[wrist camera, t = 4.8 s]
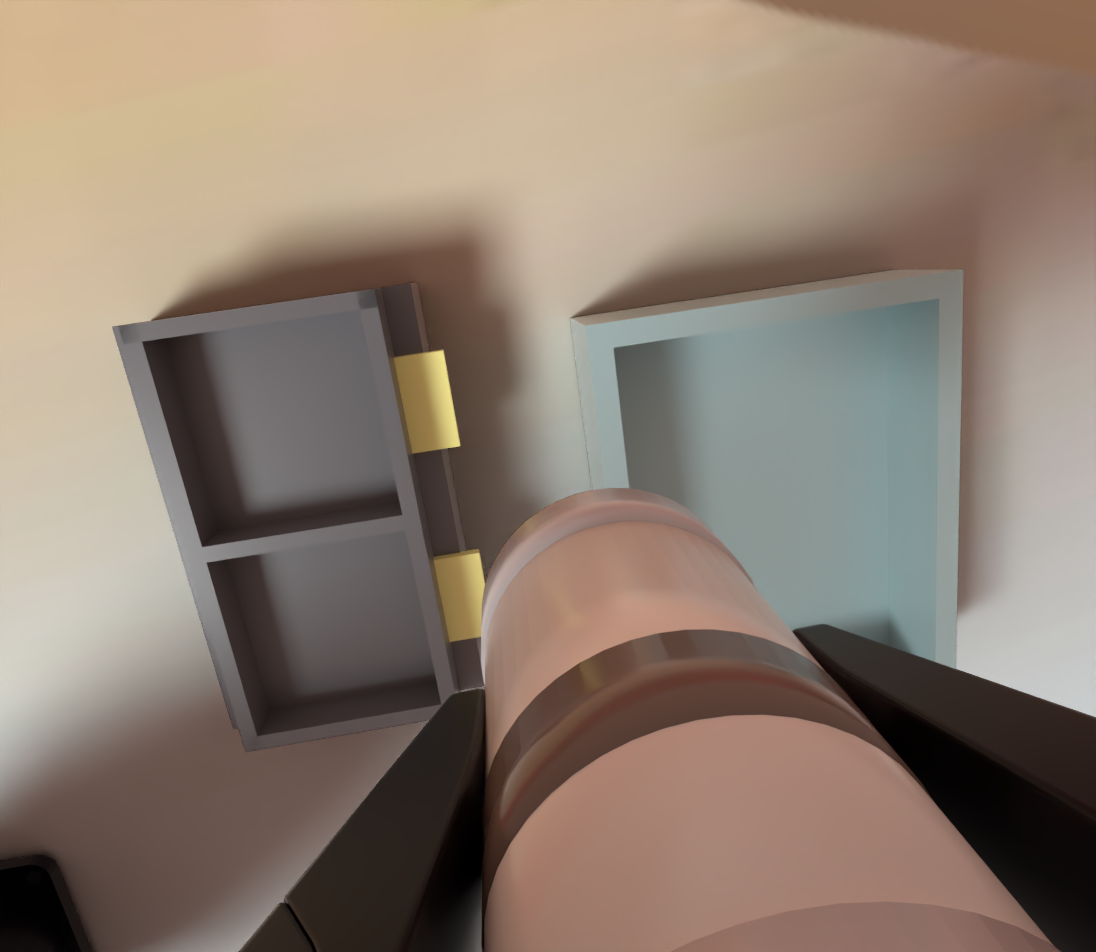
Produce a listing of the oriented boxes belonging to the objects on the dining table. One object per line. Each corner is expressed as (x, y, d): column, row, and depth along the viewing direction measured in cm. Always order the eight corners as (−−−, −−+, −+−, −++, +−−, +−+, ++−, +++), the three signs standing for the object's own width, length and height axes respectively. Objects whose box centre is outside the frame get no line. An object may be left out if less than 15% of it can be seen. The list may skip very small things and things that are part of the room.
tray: (897, 650, 24) (955, 702, 21) (618, 699, 23) (638, 759, 20) (895, 269, 20) (964, 269, 18) (570, 317, 20) (584, 325, 17)
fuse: (747, 696, 11) (1325, 1655, 3) (506, 743, 11) (554, 1840, 3) (724, 465, 10) (1482, 1108, 2) (458, 515, 10) (364, 1356, 2)
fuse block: (500, 647, 22) (504, 707, 19) (254, 689, 22) (218, 756, 19) (436, 279, 19) (427, 281, 16) (149, 321, 19) (85, 330, 16)
